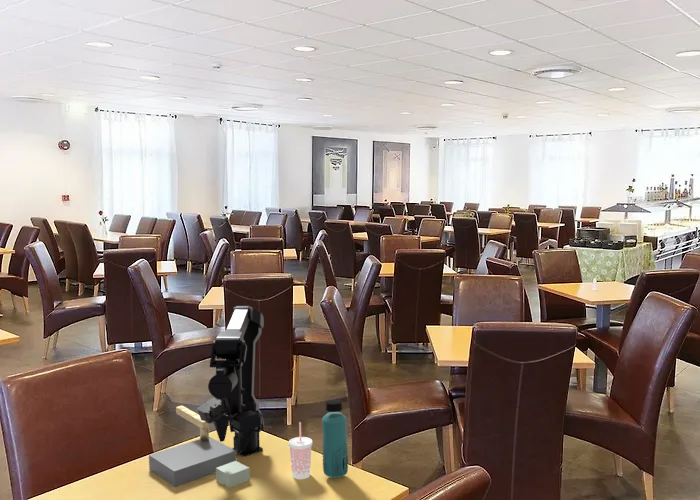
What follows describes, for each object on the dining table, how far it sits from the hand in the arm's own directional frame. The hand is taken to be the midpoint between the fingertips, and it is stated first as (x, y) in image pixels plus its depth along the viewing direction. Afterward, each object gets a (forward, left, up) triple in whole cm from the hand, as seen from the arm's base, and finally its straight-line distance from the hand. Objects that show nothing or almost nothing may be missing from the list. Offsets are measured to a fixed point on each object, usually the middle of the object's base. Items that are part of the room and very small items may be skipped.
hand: (232, 446), depth 160 cm
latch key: (-4, -26, -5) cm, 27 cm away
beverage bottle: (-19, +17, -9) cm, 28 cm away
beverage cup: (-14, +10, -9) cm, 20 cm away
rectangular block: (0, 0, -9) cm, 9 cm away
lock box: (+3, -14, -9) cm, 17 cm away
